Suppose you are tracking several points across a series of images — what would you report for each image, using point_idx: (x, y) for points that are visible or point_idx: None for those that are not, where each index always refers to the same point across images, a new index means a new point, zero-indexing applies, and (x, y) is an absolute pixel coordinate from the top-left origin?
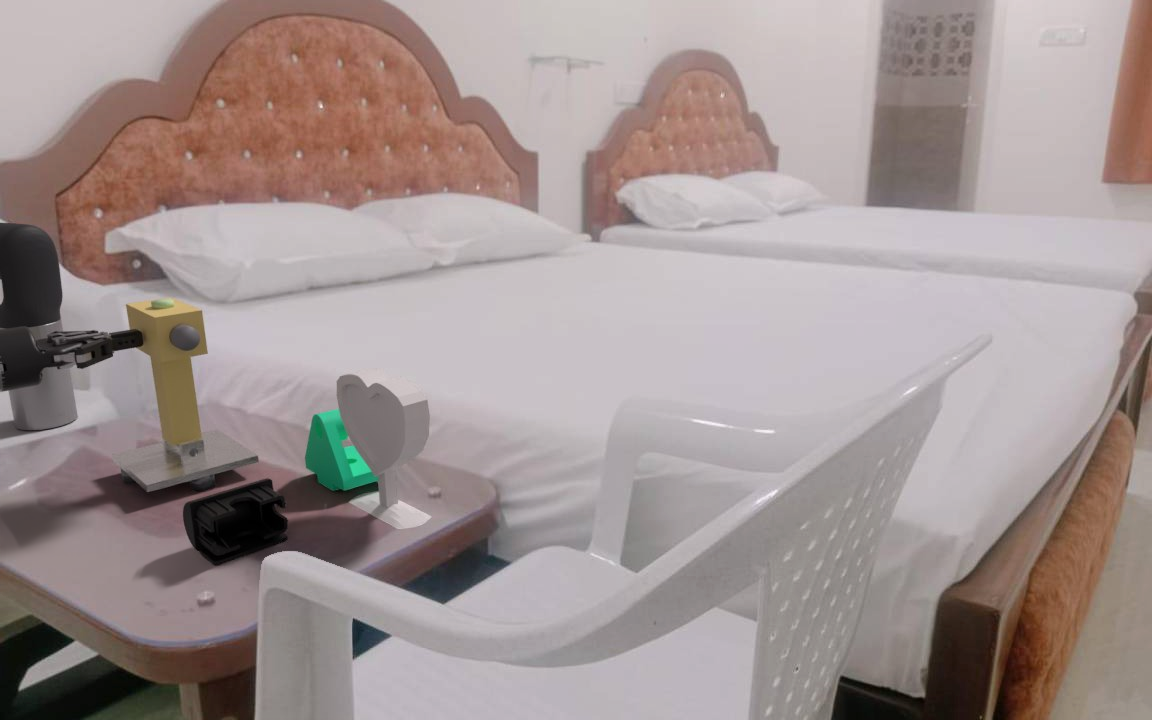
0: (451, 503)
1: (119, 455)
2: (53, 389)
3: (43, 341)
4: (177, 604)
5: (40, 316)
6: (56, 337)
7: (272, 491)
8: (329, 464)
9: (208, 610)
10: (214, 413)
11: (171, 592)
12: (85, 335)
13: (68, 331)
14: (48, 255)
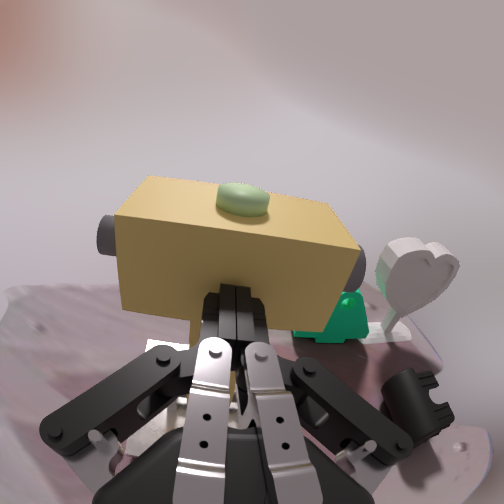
0: (386, 307)
1: (137, 450)
2: None
3: None
4: (461, 462)
5: None
6: (281, 500)
7: (423, 373)
8: (351, 326)
9: (470, 445)
10: (57, 302)
11: (449, 466)
12: (282, 406)
13: (79, 399)
14: None
